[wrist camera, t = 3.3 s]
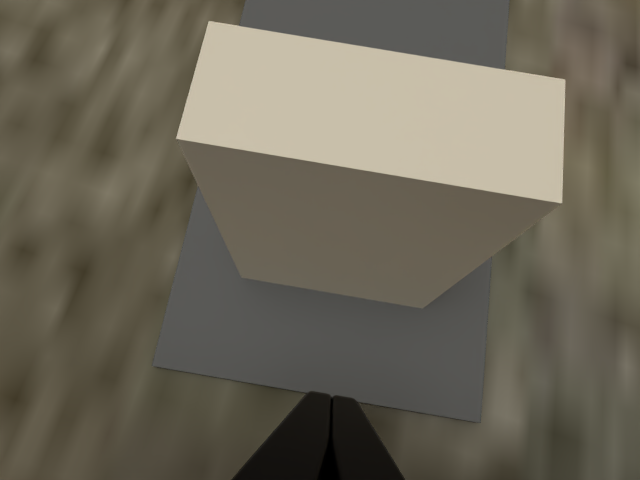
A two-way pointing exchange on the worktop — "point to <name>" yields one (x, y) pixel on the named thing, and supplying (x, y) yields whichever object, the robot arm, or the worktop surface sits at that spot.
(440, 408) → the mat
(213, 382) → the worktop surface
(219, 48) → the box
